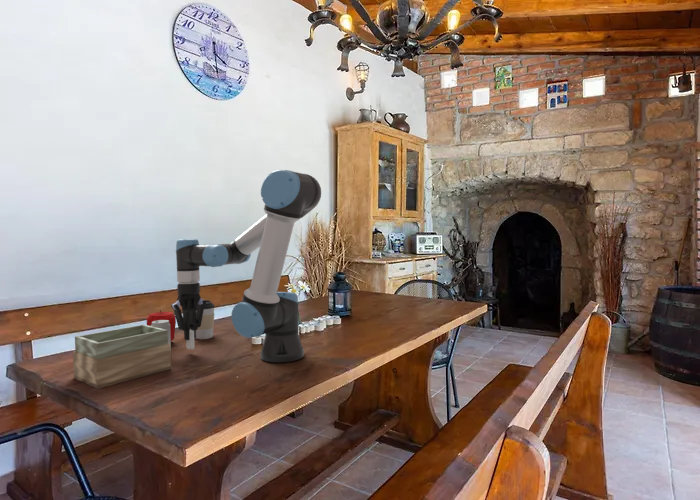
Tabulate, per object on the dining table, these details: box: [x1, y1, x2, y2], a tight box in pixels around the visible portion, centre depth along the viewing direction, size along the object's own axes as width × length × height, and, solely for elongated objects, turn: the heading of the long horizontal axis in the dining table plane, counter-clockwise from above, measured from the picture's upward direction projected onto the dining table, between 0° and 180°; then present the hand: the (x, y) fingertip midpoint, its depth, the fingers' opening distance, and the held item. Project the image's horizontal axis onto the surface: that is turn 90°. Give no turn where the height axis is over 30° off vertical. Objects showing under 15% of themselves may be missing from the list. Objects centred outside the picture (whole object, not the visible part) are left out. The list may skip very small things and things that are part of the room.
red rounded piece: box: [146, 310, 177, 342], centre depth 173 cm, size 11×10×14 cm
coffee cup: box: [195, 299, 215, 340], centre depth 183 cm, size 9×9×15 cm
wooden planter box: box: [72, 324, 172, 390], centre depth 138 cm, size 16×22×12 cm
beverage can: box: [151, 320, 172, 352], centre depth 159 cm, size 6×6×12 cm
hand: (190, 348), depth 160 cm, fingers closed
